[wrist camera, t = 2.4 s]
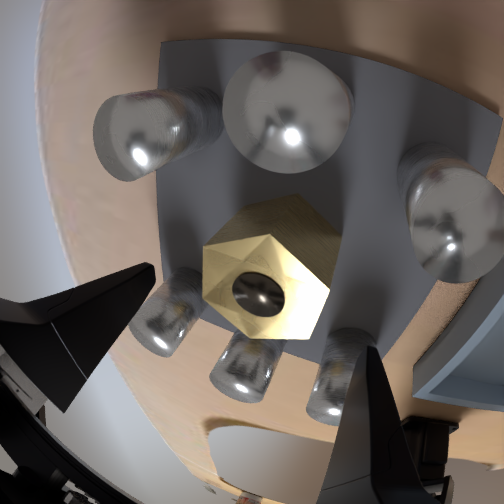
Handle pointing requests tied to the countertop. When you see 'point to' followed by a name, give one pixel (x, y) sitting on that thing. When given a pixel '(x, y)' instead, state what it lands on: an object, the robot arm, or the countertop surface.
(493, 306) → the plastic tray
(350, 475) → the robot arm
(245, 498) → the fruit juice
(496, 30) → the countertop surface
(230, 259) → the brass nut
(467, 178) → the steel spacers
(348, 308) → the rubber mat
